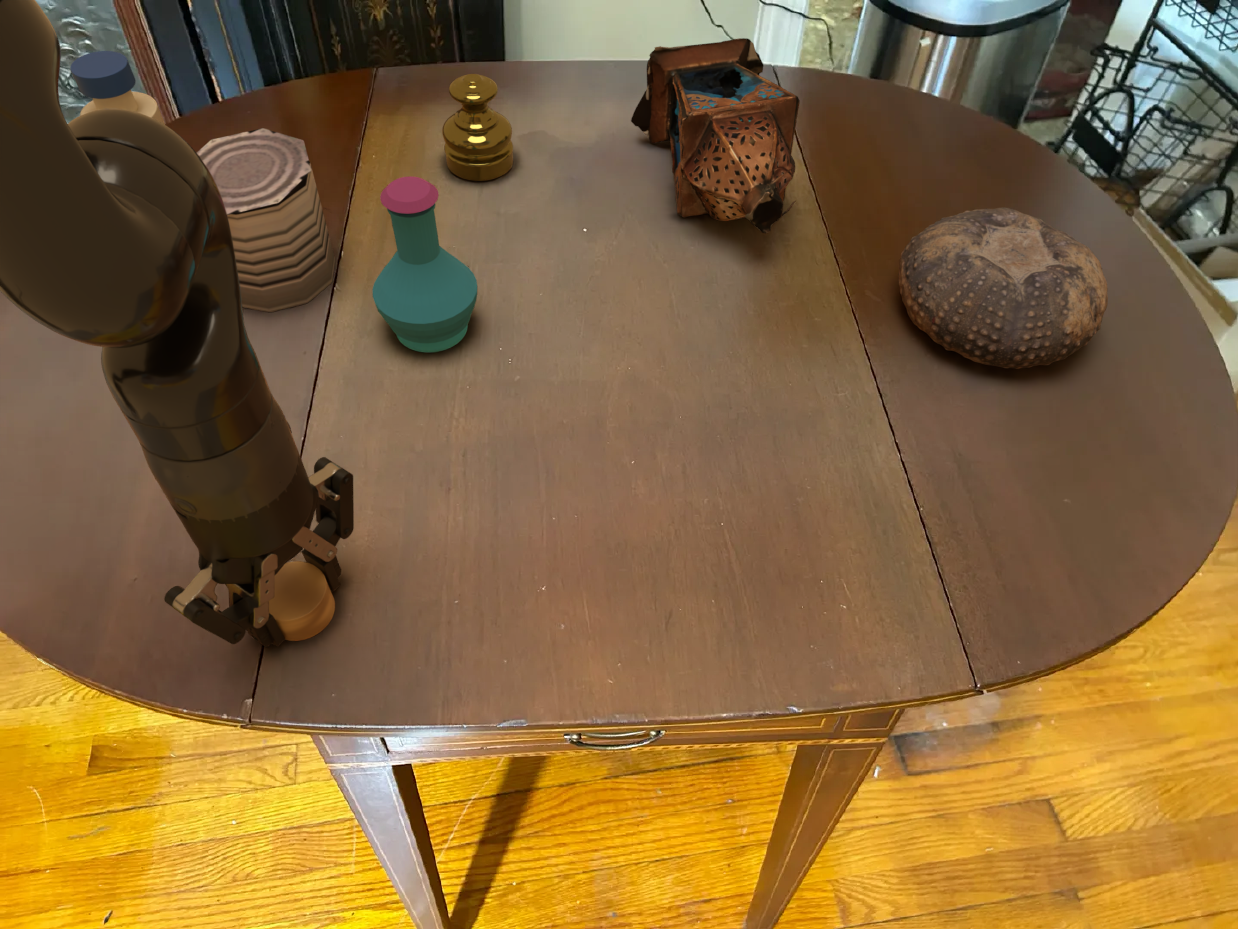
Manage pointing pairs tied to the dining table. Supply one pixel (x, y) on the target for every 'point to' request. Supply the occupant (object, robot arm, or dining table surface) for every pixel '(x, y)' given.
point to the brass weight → (477, 132)
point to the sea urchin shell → (1002, 288)
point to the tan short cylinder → (301, 601)
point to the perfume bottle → (422, 274)
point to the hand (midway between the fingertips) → (299, 608)
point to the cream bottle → (111, 84)
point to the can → (272, 217)
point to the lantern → (721, 130)
